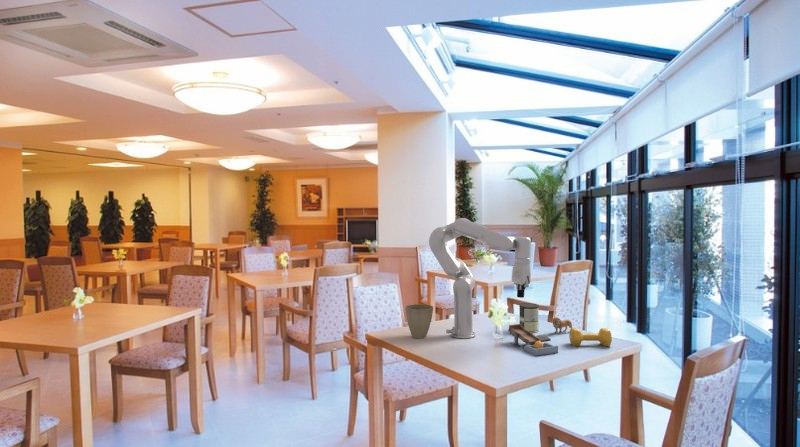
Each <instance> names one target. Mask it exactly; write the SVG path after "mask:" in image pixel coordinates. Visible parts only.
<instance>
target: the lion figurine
mask: <svg viewBox="0 0 800 447" xmlns="http://www.w3.org/2000/svg"><path fill="white" fill-rule="evenodd" d="M551 322H552V325H553V328H555V331H554V333H555V334H557V333H558V329H559V333H558V335H559V334H560V335H562V333H563V332H566V331H567V330H568V328H570V329H571V328H574V327H573V325H572V321H571V320H570V319H564V320H561V319H560V318H559V317H557V316H556V317H553V318H552V320H551ZM563 328H565V329H563ZM562 330H563V332H562Z"/></svg>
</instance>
